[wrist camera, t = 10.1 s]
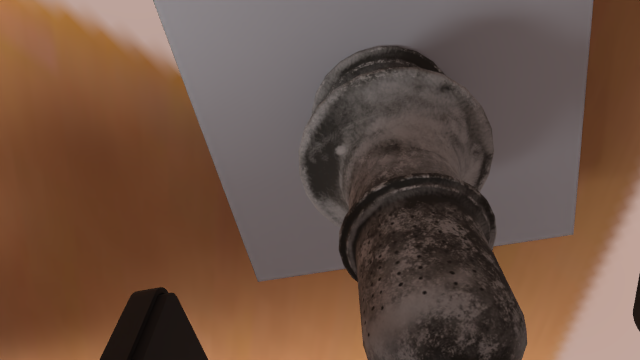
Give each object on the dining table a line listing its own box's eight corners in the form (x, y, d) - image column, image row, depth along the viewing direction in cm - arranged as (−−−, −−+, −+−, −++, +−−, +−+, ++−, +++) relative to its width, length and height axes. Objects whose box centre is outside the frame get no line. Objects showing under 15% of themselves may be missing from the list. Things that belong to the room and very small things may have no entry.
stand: (267, 229, 25) (258, 281, 21) (172, -56, 18) (135, -48, 14) (536, 185, 23) (573, 234, 19) (547, -149, 16) (607, -166, 13)
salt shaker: (492, 130, 17) (746, 465, 7) (363, 210, 19) (408, 566, 9) (406, -1, 15) (594, 200, 4) (270, 104, 17) (178, 417, 6)
